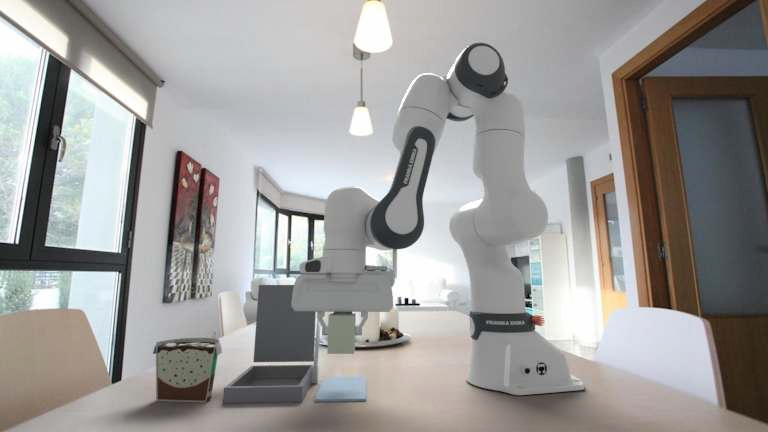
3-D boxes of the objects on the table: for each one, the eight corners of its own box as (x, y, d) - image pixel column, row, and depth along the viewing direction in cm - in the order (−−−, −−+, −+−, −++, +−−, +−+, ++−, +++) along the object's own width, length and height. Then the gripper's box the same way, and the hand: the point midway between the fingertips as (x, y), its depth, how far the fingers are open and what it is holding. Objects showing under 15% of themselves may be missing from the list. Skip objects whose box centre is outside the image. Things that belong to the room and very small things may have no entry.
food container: (231, 392, 72) (235, 337, 74) (214, 402, 66) (218, 343, 68) (170, 390, 74) (175, 336, 75) (148, 400, 68) (153, 342, 69)
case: (320, 375, 84) (322, 314, 86) (308, 401, 67) (311, 324, 69) (252, 376, 84) (255, 314, 86) (222, 403, 66) (227, 324, 68)
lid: (313, 361, 84) (314, 360, 85) (316, 284, 88) (317, 285, 89) (253, 362, 83) (255, 361, 84) (258, 284, 87) (260, 285, 88)
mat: (365, 378, 82) (365, 376, 82) (366, 400, 67) (366, 398, 67) (323, 378, 82) (323, 376, 82) (314, 401, 67) (314, 399, 67)
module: (355, 347, 79) (355, 310, 80) (353, 353, 72) (354, 314, 73) (330, 347, 79) (331, 310, 80) (327, 353, 72) (328, 313, 73)
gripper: (393, 266, 82) (393, 333, 79) (297, 265, 81) (294, 332, 79) (395, 265, 75) (395, 337, 73) (291, 263, 75) (287, 337, 72)
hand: (342, 335), depth 76 cm, fingers closed on module, 5 cm apart
